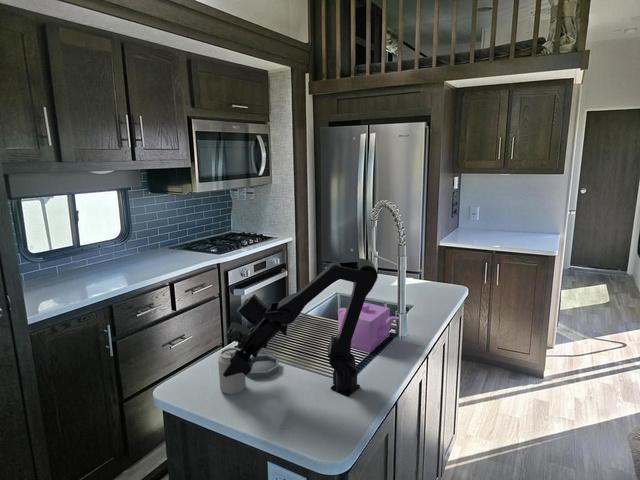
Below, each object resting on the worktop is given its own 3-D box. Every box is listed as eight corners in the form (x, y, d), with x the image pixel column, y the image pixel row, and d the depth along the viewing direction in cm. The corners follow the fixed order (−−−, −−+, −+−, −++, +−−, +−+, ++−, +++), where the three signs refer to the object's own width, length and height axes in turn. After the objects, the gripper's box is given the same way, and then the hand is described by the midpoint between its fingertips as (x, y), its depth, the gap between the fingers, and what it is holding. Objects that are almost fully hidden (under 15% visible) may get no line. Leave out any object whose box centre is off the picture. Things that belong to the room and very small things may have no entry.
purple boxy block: (388, 359, 143) (389, 320, 140) (327, 340, 157) (327, 304, 154) (407, 342, 155) (408, 306, 152) (348, 326, 169) (348, 292, 166)
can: (240, 397, 121) (238, 359, 119) (215, 394, 123) (213, 356, 120) (249, 383, 129) (247, 347, 126) (226, 380, 130) (224, 345, 127)
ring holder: (286, 367, 138) (285, 361, 137) (259, 382, 129) (259, 376, 128) (261, 356, 145) (261, 351, 144) (235, 370, 136) (234, 364, 136)
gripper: (248, 303, 130) (214, 336, 132) (235, 329, 112) (197, 367, 114) (274, 327, 131) (240, 359, 134) (266, 356, 113) (228, 393, 116)
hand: (227, 368), depth 124 cm, fingers closed on can, 7 cm apart
